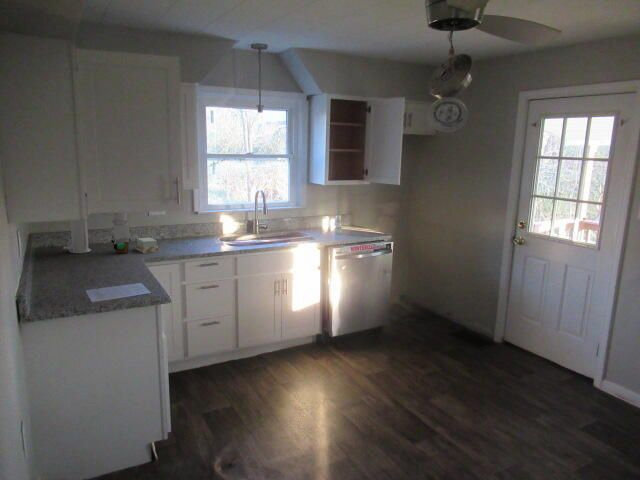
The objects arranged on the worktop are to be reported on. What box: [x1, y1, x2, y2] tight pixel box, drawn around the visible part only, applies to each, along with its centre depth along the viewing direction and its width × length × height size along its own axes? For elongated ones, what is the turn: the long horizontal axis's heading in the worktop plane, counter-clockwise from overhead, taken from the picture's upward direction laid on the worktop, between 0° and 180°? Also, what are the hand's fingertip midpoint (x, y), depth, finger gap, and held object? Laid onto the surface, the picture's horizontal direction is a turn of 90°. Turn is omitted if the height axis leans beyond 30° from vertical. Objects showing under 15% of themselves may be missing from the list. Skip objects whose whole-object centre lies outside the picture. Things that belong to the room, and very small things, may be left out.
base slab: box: [135, 243, 159, 254], centre depth 320 cm, size 10×14×4 cm
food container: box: [113, 239, 130, 255], centre depth 308 cm, size 12×6×10 cm, turn 58°
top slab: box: [136, 237, 158, 248], centre depth 320 cm, size 9×13×4 cm
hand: (120, 248), depth 309 cm, fingers closed on food container, 5 cm apart
